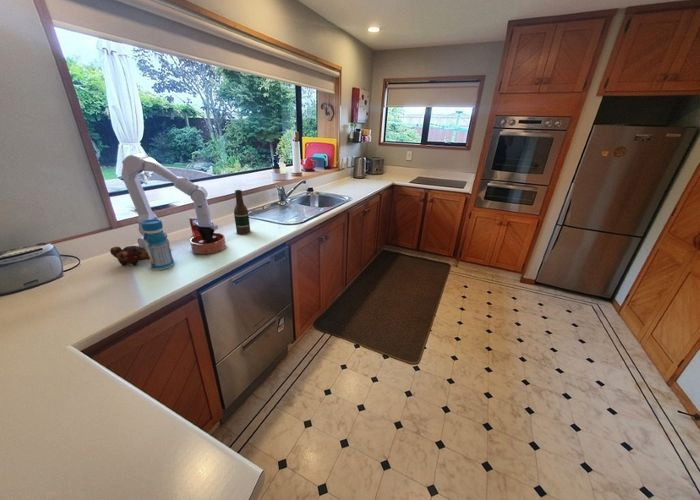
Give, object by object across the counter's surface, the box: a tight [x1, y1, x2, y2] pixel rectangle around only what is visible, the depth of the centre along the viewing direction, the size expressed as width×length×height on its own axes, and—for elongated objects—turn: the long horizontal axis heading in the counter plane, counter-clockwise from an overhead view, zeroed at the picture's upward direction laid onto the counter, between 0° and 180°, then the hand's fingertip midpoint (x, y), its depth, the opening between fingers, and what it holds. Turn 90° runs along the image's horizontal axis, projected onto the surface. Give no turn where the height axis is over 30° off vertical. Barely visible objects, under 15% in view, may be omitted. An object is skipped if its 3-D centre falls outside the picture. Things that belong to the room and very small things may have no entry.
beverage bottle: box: [141, 218, 175, 271], centre depth 116 cm, size 8×8×20 cm
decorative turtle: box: [109, 245, 150, 267], centre depth 120 cm, size 10×15×8 cm, turn 104°
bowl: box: [189, 232, 227, 255], centre depth 136 cm, size 15×15×6 cm
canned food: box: [188, 214, 200, 237], centre depth 150 cm, size 8×8×11 cm
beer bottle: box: [233, 189, 251, 236], centre depth 154 cm, size 8×8×24 cm
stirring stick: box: [198, 236, 218, 244], centre depth 136 cm, size 9×2×2 cm, turn 155°
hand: (208, 241), depth 136 cm, fingers closed on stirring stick, 2 cm apart
